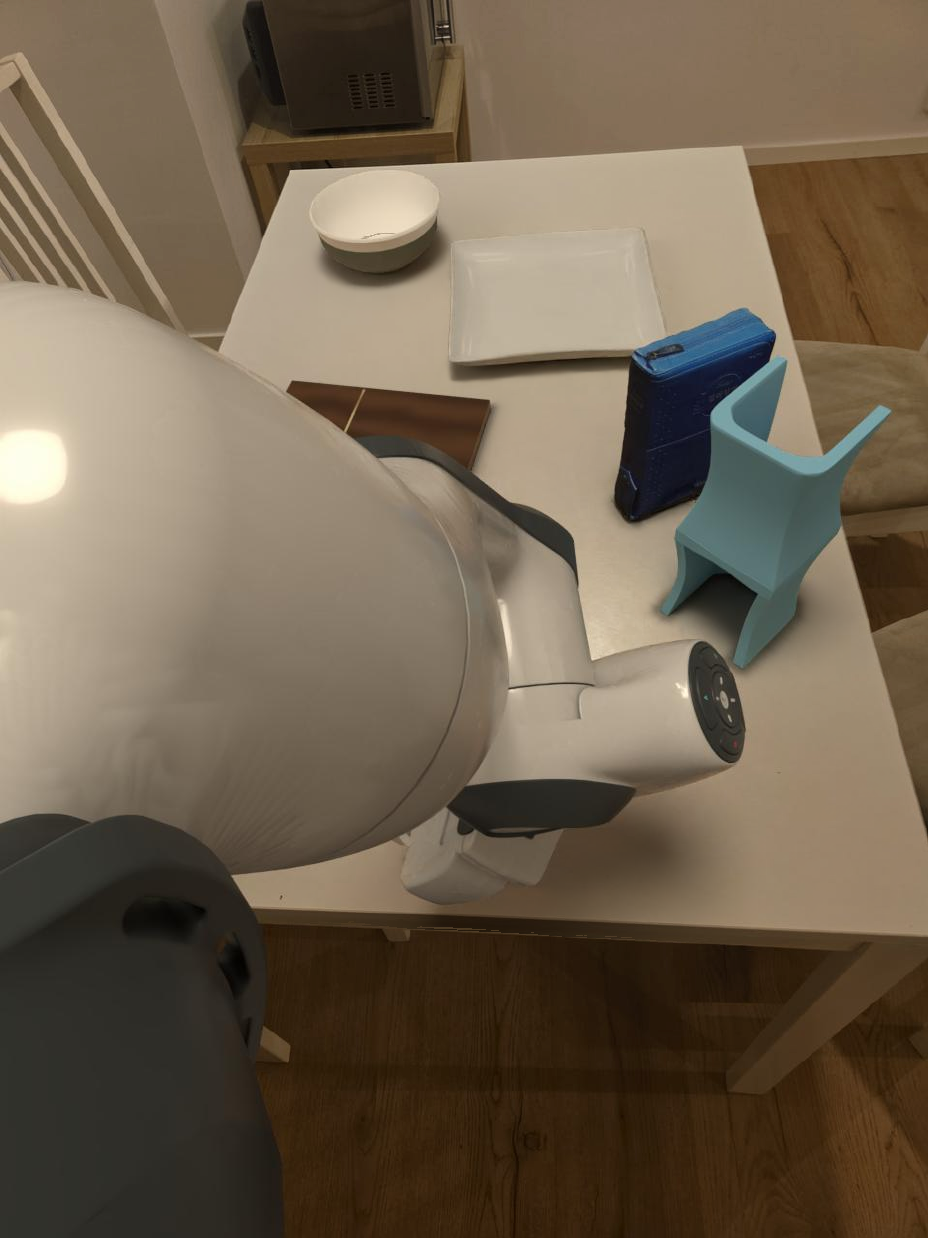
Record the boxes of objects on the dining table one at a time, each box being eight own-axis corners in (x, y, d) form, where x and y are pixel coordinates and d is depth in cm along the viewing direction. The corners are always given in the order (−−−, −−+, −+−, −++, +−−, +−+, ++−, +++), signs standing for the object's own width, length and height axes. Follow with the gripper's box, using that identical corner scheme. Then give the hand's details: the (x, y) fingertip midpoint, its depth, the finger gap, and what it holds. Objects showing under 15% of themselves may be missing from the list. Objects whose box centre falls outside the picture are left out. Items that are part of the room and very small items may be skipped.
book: (630, 530, 87) (650, 380, 70) (604, 498, 89) (617, 346, 73) (742, 482, 89) (787, 325, 73) (714, 452, 92) (751, 295, 76)
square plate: (668, 370, 100) (672, 344, 97) (449, 385, 102) (446, 359, 99) (642, 247, 116) (644, 221, 113) (452, 261, 118) (449, 236, 114)
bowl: (467, 234, 121) (463, 179, 115) (408, 306, 112) (400, 251, 106) (361, 213, 127) (351, 159, 120) (297, 280, 118) (282, 226, 112)
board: (394, 706, 77) (391, 698, 75) (151, 662, 82) (144, 653, 81) (490, 409, 99) (489, 398, 98) (294, 389, 104) (291, 378, 103)
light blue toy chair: (803, 607, 79) (894, 409, 59) (742, 669, 76) (816, 483, 55) (720, 554, 84) (778, 353, 63) (659, 610, 80) (699, 417, 60)
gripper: (526, 605, 60) (418, 653, 70) (460, 874, 49) (343, 886, 59) (583, 647, 63) (471, 687, 73) (533, 910, 52) (410, 915, 62)
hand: (413, 778), depth 66 cm, fingers open, 8 cm apart
